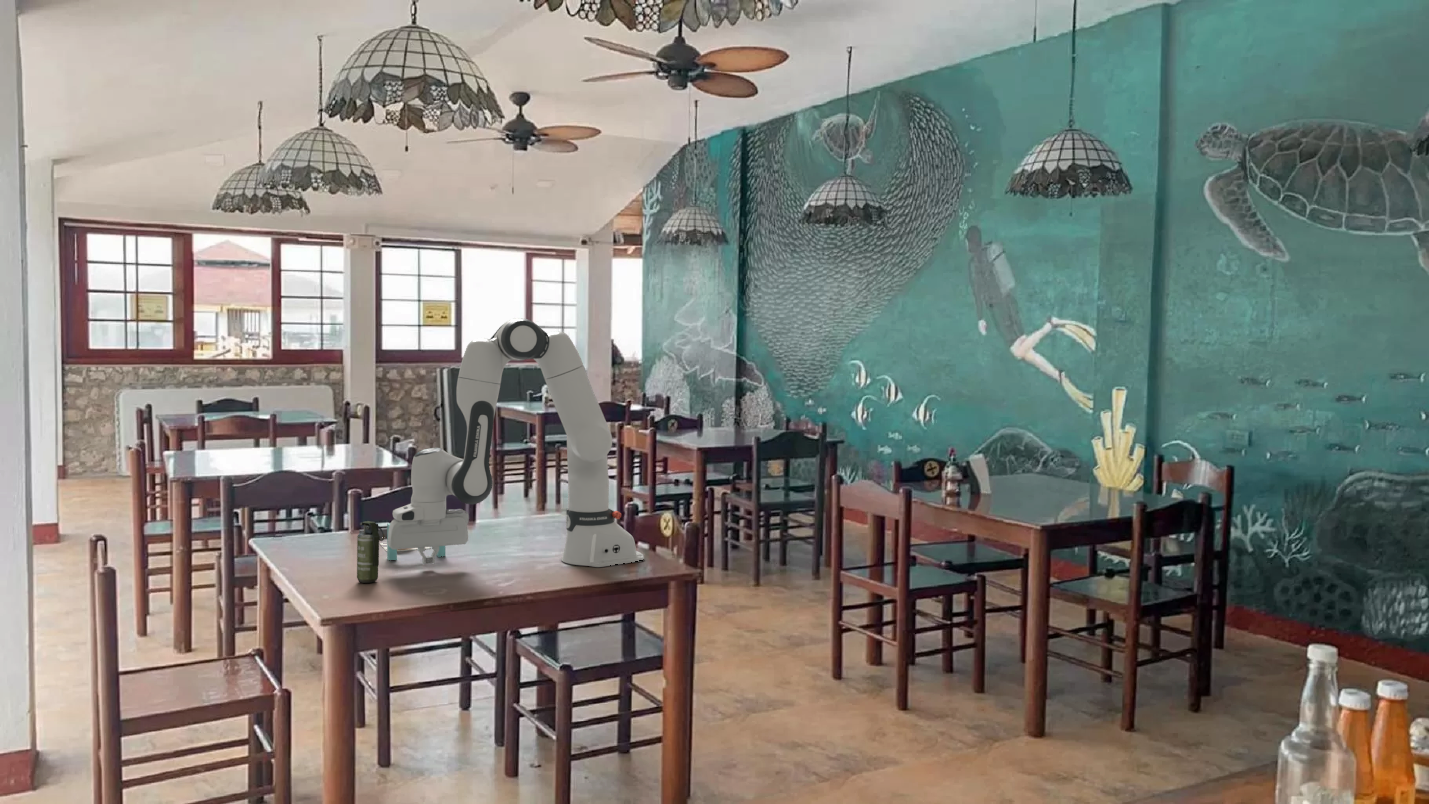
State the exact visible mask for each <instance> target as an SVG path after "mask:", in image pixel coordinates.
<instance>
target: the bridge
mask: <svg viewBox="0 0 1429 804" xmlns="http://www.w3.org/2000/svg"><path fill="white" fill-rule="evenodd" d="M390 523H391V522H389V523H386V528H387V539H386V541H387V542H386V543H387V551H386V554H387V555H386V557H387V558H386V559H387V560H388V561H389V560H397V561H398V551H397V549H392V548H390V547H389V545H388V532H389V526H390ZM437 556H438V557H437ZM441 556H442V557H441ZM443 556H445V557H446V546H439V552H438V553H437V555H436V557H437V558H444V557H443Z"/></svg>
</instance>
